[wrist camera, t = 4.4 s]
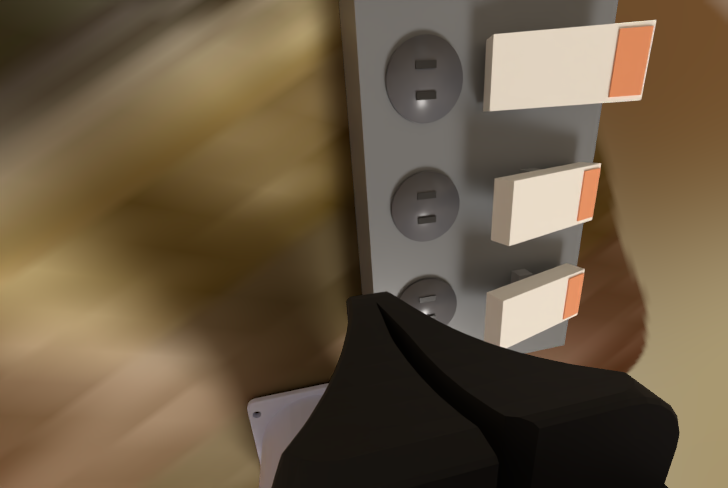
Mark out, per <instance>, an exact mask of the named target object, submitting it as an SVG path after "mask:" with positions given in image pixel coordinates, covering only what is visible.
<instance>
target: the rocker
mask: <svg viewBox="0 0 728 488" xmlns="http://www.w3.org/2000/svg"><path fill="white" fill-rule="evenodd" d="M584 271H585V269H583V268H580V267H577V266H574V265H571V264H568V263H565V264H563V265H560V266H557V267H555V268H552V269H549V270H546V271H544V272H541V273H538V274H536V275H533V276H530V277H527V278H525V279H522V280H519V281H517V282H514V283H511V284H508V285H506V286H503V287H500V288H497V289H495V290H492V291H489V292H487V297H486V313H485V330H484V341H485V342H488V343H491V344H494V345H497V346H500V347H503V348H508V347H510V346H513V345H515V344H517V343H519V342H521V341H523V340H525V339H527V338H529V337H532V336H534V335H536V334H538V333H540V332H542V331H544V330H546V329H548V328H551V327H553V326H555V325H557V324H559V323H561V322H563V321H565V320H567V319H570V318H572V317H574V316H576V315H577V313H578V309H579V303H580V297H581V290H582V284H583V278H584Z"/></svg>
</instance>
